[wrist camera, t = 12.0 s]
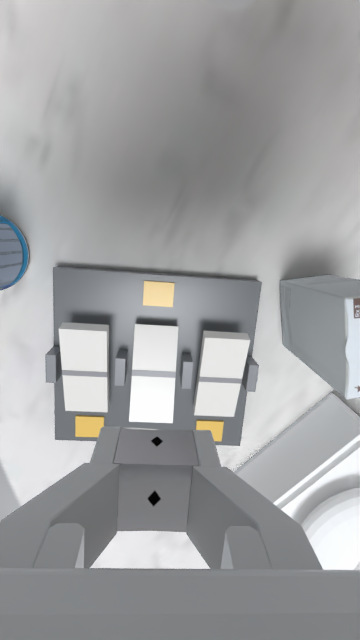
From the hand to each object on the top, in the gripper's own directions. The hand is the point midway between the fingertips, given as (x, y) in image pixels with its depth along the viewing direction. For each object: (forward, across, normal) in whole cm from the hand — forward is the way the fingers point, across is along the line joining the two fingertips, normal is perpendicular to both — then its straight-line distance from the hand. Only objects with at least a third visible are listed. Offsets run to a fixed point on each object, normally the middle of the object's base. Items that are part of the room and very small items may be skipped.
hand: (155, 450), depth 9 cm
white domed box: (+30, -23, +24) cm, 44 cm away
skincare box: (+29, -17, +1) cm, 34 cm away
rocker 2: (+25, 0, +8) cm, 26 cm away
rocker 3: (+25, -7, +8) cm, 27 cm away
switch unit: (+29, 0, +8) cm, 30 cm away
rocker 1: (+25, +7, +8) cm, 27 cm away
